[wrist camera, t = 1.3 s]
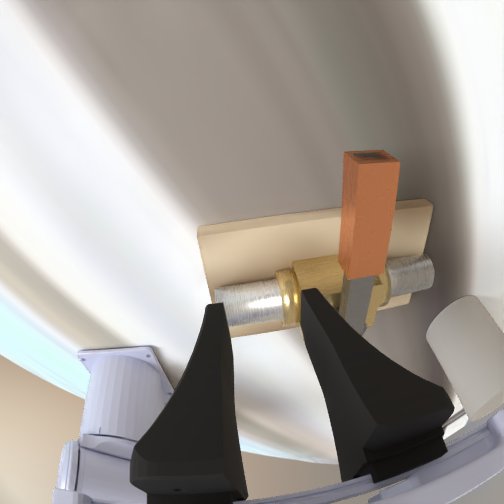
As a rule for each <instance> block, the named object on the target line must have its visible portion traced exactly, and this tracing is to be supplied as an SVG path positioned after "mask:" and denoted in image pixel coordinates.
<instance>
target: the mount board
mask: <svg viewBox="0 0 504 504" xmlns="http://www.w3.org/2000/svg"><path fill="white" fill-rule="evenodd" d="M341 210H342V207H341V208H332V209H324V210H316V211H308V212H300V213H293V214H285V215H278V216H270V217H263V218H256V219H248V220H241V221H234V222H228V223H221V224H214V225H207V226H201V227H197V239H198V244H199V248H200V253H201V257H202V262H203V266H204V271H205V275H206V279H207V284H208V288H209V292H210V296H211V301H212V304H214V303H216V302H215V288H218V287H225V286H232V285H239V284H246V283H252V282H259V281H266V280H272V279H275V272H276V271H282V270H289V269H291V261H296V260H302V259H309V258H315V257H322V256H328V255H334V254H338V252H339V240H340V226H341ZM432 211H433V205H432V204H431V203H430V202H429V201H428V200H426V199H414V200H404V201H396V203H395V210H394V217H393V223H392V230H391V236H390V241H389V247H388V252H387V258H386V260H391V259H396V258H402V257H407V256H412V255H418V254H423V251H424V247H425V243H426V238H427V234H428V230H429V225H430V221H431V216H432ZM411 294H412V293H408V294H404V295H400V296H396V297H391V298H390V300H389V302H388V304H387V305H386V306H382V307H378V308H377V311H379V310H383V309H387V308H392V307H396V306H400V305H404V304H408V303H409V300H410V297H411ZM296 327H299V324H293V325H288V326H283V325H282V323H281V320H274V321H268V322H261V323H255V324H248V325H242V326H235V327H229V331H230V336H231V338H233V337H240V336H247V335H254V334H260V333H267V332H273V331H279V330H285V329H290V328H296Z"/></svg>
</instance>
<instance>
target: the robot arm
mask: <svg viewBox="0 0 504 504" xmlns="http://www.w3.org/2000/svg"><path fill="white" fill-rule="evenodd" d="M300 325H301V329H302V333H303V337H304V341H305V345H306V348H307V351H308V354H309V356H310V359H311V362H312V364H313V367H314V370H315V372H316V375H317V378H318V380H319V383H320V386H321V388H322V391H323V395H324V398H325V402H326V406H327V410H328V414H329V418H330V422H331V427H332V431H333V436H334V441H335V446H336V451H337V456H338V462H339V467H340V473H341V480H342V483H338V484H334V485H330V486H326V487H322V488H317V489H313V490H309V491H304V492H299V493H293V494H288V495H282V496H276V497H270V498H263V499H255V500H247V501H245V500H246V499H247V497H248V491H247V486H246V480H245V475H244V469H243V463H242V457H241V450H240V444H239V437H238V430H237V423H236V416H235V403H234V365H233V352H232V344H231V336H230V331H229V327H228V322H227V317H226V313H225V308H224V303H223V302H221V303H214V304H208V305H207V306H206V308H205V314H204V318H203V322H202V326H201V329H200V333H199V336H198V339H197V342H196V344H195V347H194V350H193V353H192V355H191V357H190V360H189V362H188V365H187V367H186V369H185V371H184V373H183V375H182V377H181V379H180V381H179V383H178V385H177V387H176V389H175V390H174V389H173V387H172V385H171V384H170V382H169V380H168V378H167V376H166V374H165V373H164V371H163V369H162V367H161V365H160V363H159V361H158V359H157V357H156V355H155V354H154V352H153V350H152V348H150V347H134V348H121V349H106V350H88V351H78V353H77V357H78V358H79V359H80V361H81V362H82V363H83V365H84V366H85V367H86V369H87V370H88V371H89V373H90V374H91V375H90V379H89V384H88V389H87V394H86V400H85V405H84V411H83V417H82V423H81V429H80V436H79V439H78V441H74V440H70V441H69V442H67V443H65V444H64V446H63V450H62V454H61V459H60V465H59V472H58V481H57V488H56V487H55V488H54V490H53V502H52V504H330V503H334V502H338V501H341V500H345V499H348V498H352V497H356V496H359V495H362V494H365V493H368V492H371V491H374V490H377V489H380V488H383V487H386V486H389V485H391V484H394V483H397V482H399V481H402V480H404V481H402V482H400V483H398V484H395V485H393V486H391V487H388V488H386V489H384V490H381V491H380V493H379V494H378V495H376V496H374V497H373V498H371V499H369V500H368V503H369V504H449V503H451V502H453V501H454V500H456V499H458V498H459V497H461V496H463V495H465V494H467V493H468V492H470V491H471V490H473V489H475V488H476V487H478V486H480V485H481V484H482V483H484V482H486V481H487V480H489V479H490V478H492V477H493V476H495V475H496V474H498V473H499V472H500V471H502V470H503V469H504V408H503V409H502V410H500V411H498V412H497V413H496V414H494V415H493V416H492V417H491V418H490V419H489V420H488V421H487V422H486V423H485V424H483V425H482V426H480V427H478V428H476V429H474V430H472V431H470V432H468V433H467V434H465V435H463V436H461V437H459V438H457V439H455V440H453V441H451V442H449V443H447V444H445V443H444V440H443V438H442V436H443V435H444V431H443V428H442V425H443V424H444V423H445V422H446V421H447V420H448V418H449V417H450V416H451V415H452V413H453V411H454V408H455V407H454V405H453V403H452V401H451V399H450V397H449V396H448V394H447V393H446V391H445V390H444V388H443V387H440V386H438V385H436V384H434V383H431V382H429V381H427V380H425V379H423V378H421V377H419V376H417V375H415V374H413V373H412V372H410V371H408V370H407V369H405V368H403V367H402V366H400V365H399V364H397V363H395V362H394V361H392V360H391V359H389V358H388V357H387V356H385V355H384V354H383V353H381V352H380V351H379V350H377V349H376V348H375V347H374V346H372V345H371V344H370V343H369V342H368V341H366V340H365V339H364V338H363V337H362V336H361V335H360V334H359V333H358V332H357V331H355V330H354V329H353V328H352V327H351V326H350V325H349V324H348V323H347V322H346V321H345V320H344V318H343V317H342V316H341V315H340V314H339V313H338V312H337V311H336V310H335V309H334V308H333V307H332V305H331V304H330V303H329V302H328V301H327V300H326V298H325V297H324V296H323V295H322V293H321V292H320V291H319V290H318V289H317V288H311V289H305V290H301V319H300Z"/></svg>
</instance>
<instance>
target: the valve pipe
mask: <svg viewBox="0 0 504 504" xmlns="http://www.w3.org/2000/svg"><path fill="white" fill-rule="evenodd" d="M343 276H344V271H343V270H342V268H341V266H340V264H339V262H338V254H334V255H328V256H322V257H315V258H309V259H302V260H296V261H291V269H289V270H282V271H276V272H275V279H272V280H266V281H259V282H252V283H246V284H239V285H232V286H225V287H218V288H215V302H216V303H221V302H223V303H224V308H225V313H226V317H227V322H228V327H235V326H242V325H248V324H255V323H261V322H268V321H274V320H281V323H282V325H283V326H288V325H293V324H299V327H300V331H301V334H302V337H303V333H302V329H301V325H300V319H301V290H305V289H311V288H317V289H318V290H319V291H320V292H321V293H322V295H323V296H324V297H325V298H326V300H327V301H328V302H329V303H330V304H331V305H332V307H333V308H334V309H336V308H337V307H339V306H340V300H341V292H342V284H343ZM433 282H434V267H433V264H432V261H431V260H430V258H429V257H428V256H427V255H426V254H418V255H412V256H407V257H402V258H396V259H391V260H386V263H385V268H384V273H383V274H378V275H375V279H374V284H373V289H372V294H371V298H370V303H369V308H368V312H367V316H366V321H365V322H366V324H367V327H370V326H373V324H374V320H375V316H376V312H377V308H378V307H382V306H386V305H387V304H388V302H389V300H390V298H391V297H396V296H400V295H404V294H408V293H413V292H417V291H421V290H425V289H429V288H430V287H431V286H432V285H433ZM303 340H304V337H303Z"/></svg>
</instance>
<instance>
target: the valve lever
mask: <svg viewBox="0 0 504 504" xmlns="http://www.w3.org/2000/svg"><path fill="white" fill-rule="evenodd" d="M399 170H400V161H398V160H397V159H395V158H394V157H393V156H391V155H390V154H388V153H387V152H385V151H384V150H368V151H349V152H344V163H343V190H342V210H341V226H340V240H339V252H338V262H339V264H340V266H341V268H342V270H343V271H344V276H343V284H342V292H341V300H340V306H339V307H337V308H336V309H335V310H336V311H337V312H338V313H339V314H340V315H341V316H342V317H343V318H344V320H345V321H346V322H347V323H348V324H349V325H350V326H351V327H352V328H353V329H354V330H355V331H357V332H358V333H359V334H360V335H361V336H362V335H363V334H364V333H365V331H366V329H367V324H366V322H365V321H366V316H367V312H368V308H369V303H370V298H371V294H372V289H373V284H374V279H375V275H378V274H383V273H384V268H385V263H386V258H387V252H388V247H389V241H390V236H391V230H392V223H393V217H394V210H395V203H396V196H397V188H398V179H399Z"/></svg>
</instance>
